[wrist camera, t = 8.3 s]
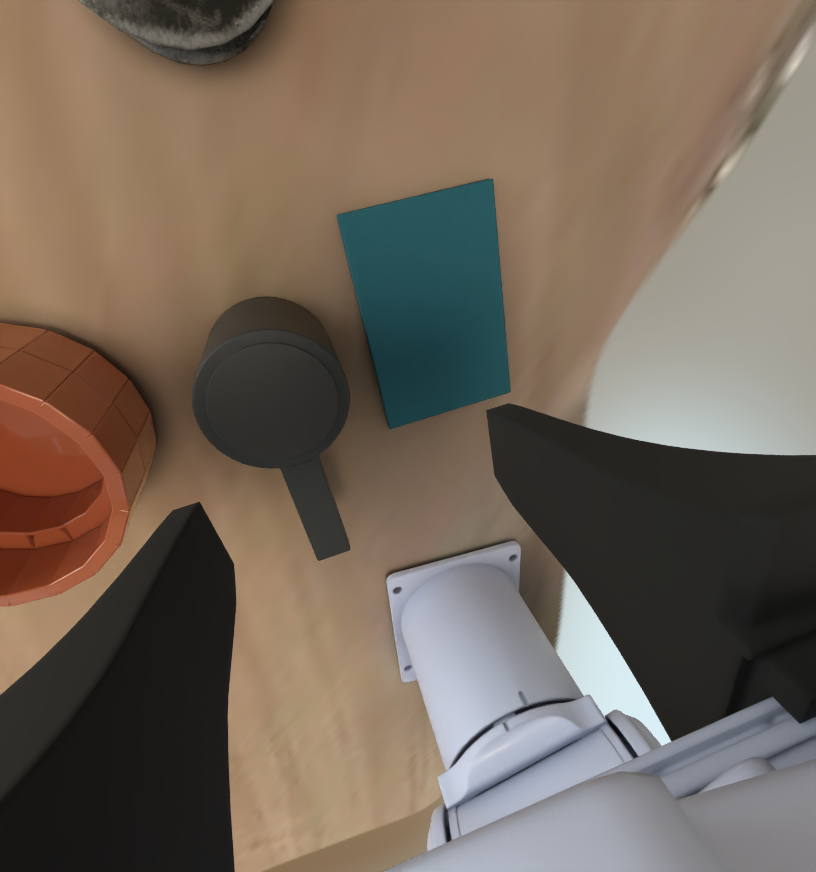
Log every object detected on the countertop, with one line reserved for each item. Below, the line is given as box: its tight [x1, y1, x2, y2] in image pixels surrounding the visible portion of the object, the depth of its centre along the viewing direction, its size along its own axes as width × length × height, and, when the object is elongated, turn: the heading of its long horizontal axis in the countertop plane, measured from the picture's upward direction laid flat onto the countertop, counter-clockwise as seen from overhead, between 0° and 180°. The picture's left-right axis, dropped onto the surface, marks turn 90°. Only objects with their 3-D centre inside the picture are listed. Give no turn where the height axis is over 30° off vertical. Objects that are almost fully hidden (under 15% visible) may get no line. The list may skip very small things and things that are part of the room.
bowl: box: [0, 323, 156, 607], centre depth 15 cm, size 8×8×5 cm
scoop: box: [192, 297, 350, 561], centre depth 18 cm, size 10×5×5 cm, turn 12°
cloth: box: [337, 179, 510, 429], centre depth 19 cm, size 6×9×1 cm, turn 12°
